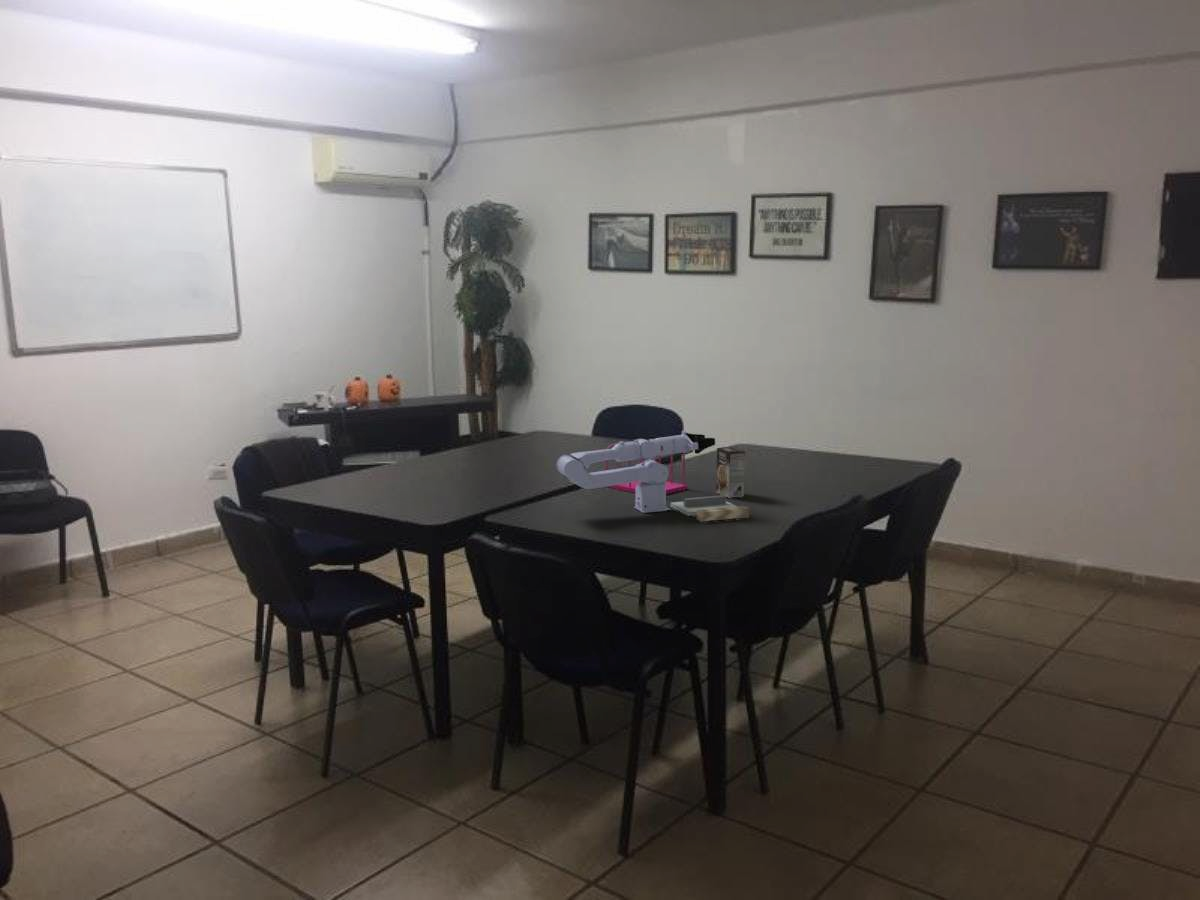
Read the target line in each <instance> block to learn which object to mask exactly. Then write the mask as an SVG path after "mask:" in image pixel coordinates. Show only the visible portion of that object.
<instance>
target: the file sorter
mask: <svg viewBox="0 0 1200 900" xmlns="http://www.w3.org/2000/svg"><path fill="white" fill-rule="evenodd" d="M623 442H624V443H627V442H634V440H632V441H631V440H630V441H623ZM615 444H619V442H618V443H613V444H609V445H608V446H607V448H606V449H611V447H614V445H615ZM673 456H674V455H673V454H670V481H668V480H666V495H669V493H670V494H672V493H673V492H674V493H677V492H676V491H678V492H682V491H681V490H683V491H685V490H684V489H687V488H688V484H686V457H685V456H686V453H684V452H683V453H682V483H677V482H673V481H674V480H673V476H674V475H673V474H674V471H673V470H674V467H673V466H674V463H673V461H674V460H673V458H674V457H673ZM657 457H658V463H660V464H661V456H654V457H653V460H655V461H656V458H657ZM638 460H639V458H638V459H635V465H637V464H639V463H638V462H639V461H638ZM646 460H648V459H646ZM616 462H617V461H616ZM643 462H644V458H642V457H640V464H641V463H643ZM616 467H617V468H616V469H619V468H620V462H617V463H616ZM628 467H631V460H628ZM606 470H609V460H605V471H606ZM640 483H643V482H632V483H626V484H619V485H613V486H606V488H609V487H610V489H615V490H619V489H620V490H621V491H626V492H629V493H634V494H635V489H636V485H637V484H640ZM620 490H619V491H620ZM687 490H688V489H687Z"/></svg>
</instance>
